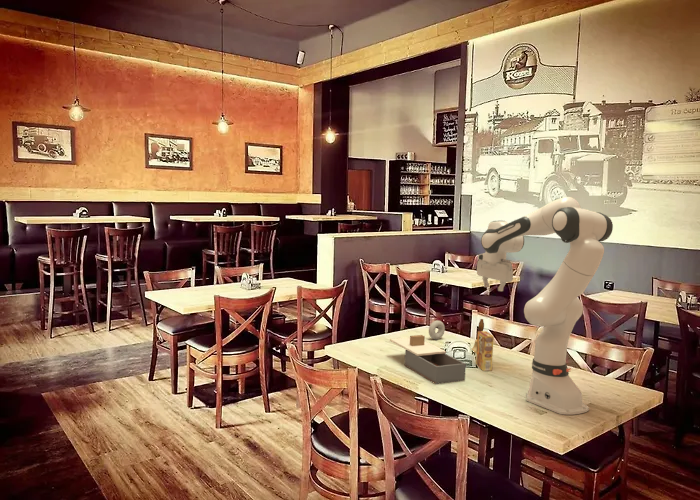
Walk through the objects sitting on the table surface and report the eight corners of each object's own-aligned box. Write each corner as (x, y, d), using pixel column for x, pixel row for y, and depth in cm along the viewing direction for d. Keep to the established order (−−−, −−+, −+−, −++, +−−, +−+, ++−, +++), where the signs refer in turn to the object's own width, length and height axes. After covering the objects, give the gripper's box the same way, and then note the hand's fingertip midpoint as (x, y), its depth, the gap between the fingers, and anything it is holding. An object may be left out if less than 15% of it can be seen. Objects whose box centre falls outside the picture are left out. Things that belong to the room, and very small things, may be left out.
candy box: (492, 371, 231) (494, 336, 229) (482, 371, 230) (485, 336, 228) (484, 364, 239) (486, 330, 238) (475, 364, 239) (477, 330, 237)
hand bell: (478, 348, 265) (480, 316, 264) (491, 352, 258) (493, 320, 257) (466, 350, 260) (468, 318, 259) (479, 355, 254) (482, 321, 252)
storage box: (464, 380, 217) (465, 363, 216) (435, 384, 211) (436, 367, 211) (432, 362, 239) (432, 347, 238) (404, 365, 233) (405, 349, 232)
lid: (445, 353, 229) (446, 342, 229) (417, 355, 223) (418, 344, 223) (416, 338, 251) (416, 328, 250) (389, 340, 245) (390, 330, 245)
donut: (441, 337, 283) (442, 318, 282) (445, 339, 280) (446, 320, 279) (426, 339, 277) (427, 320, 276) (431, 341, 275) (432, 322, 274)
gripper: (517, 260, 226) (515, 293, 228) (486, 254, 245) (484, 284, 246) (505, 260, 224) (503, 293, 225) (475, 255, 242) (473, 285, 244)
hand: (493, 289), depth 236 cm, fingers open, 8 cm apart
